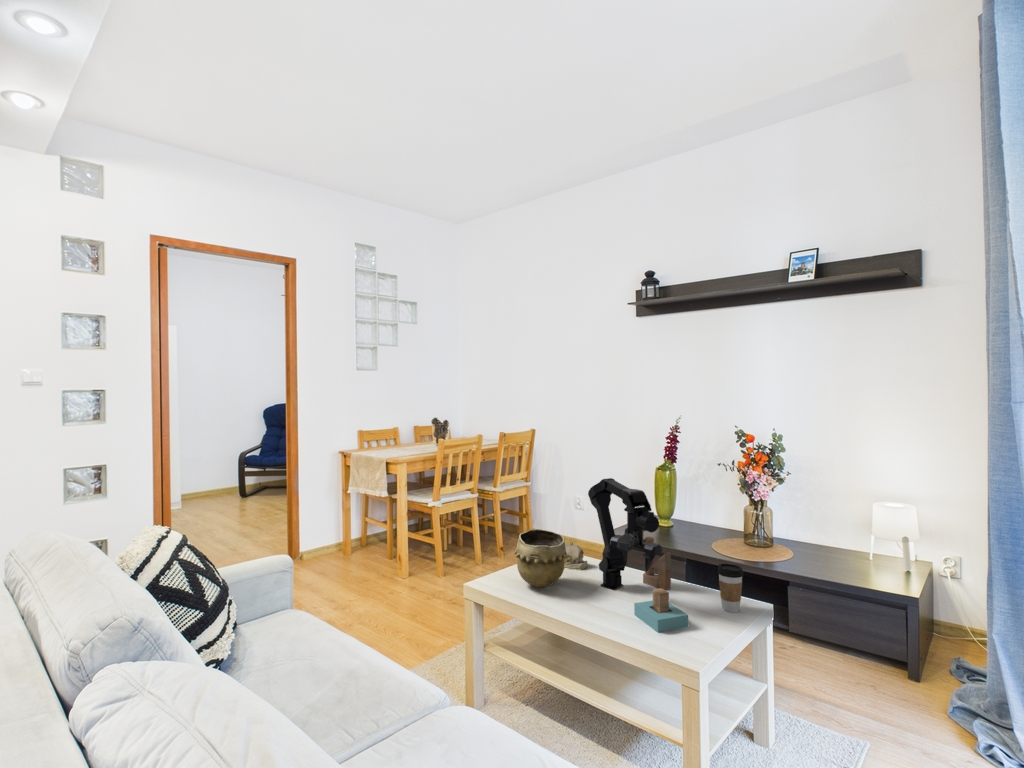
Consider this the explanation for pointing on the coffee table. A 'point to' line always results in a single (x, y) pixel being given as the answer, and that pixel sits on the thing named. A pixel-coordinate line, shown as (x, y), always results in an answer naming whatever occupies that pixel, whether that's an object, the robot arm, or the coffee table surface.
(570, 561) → the ceramic model
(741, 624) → the coffee table surface
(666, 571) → the wooden block
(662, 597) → the square peg
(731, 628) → the coffee table surface
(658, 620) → the teal square hole block
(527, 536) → the clay pot
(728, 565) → the coffee cup
